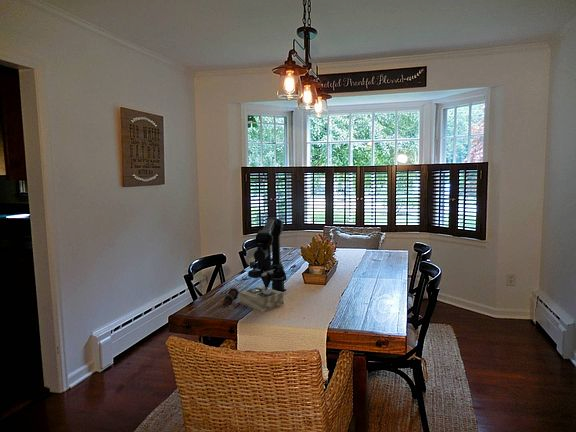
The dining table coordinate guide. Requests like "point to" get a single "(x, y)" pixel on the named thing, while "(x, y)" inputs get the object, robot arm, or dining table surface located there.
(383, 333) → the dining table surface
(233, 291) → the bolt
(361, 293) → the dining table surface
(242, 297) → the jig block
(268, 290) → the peg
